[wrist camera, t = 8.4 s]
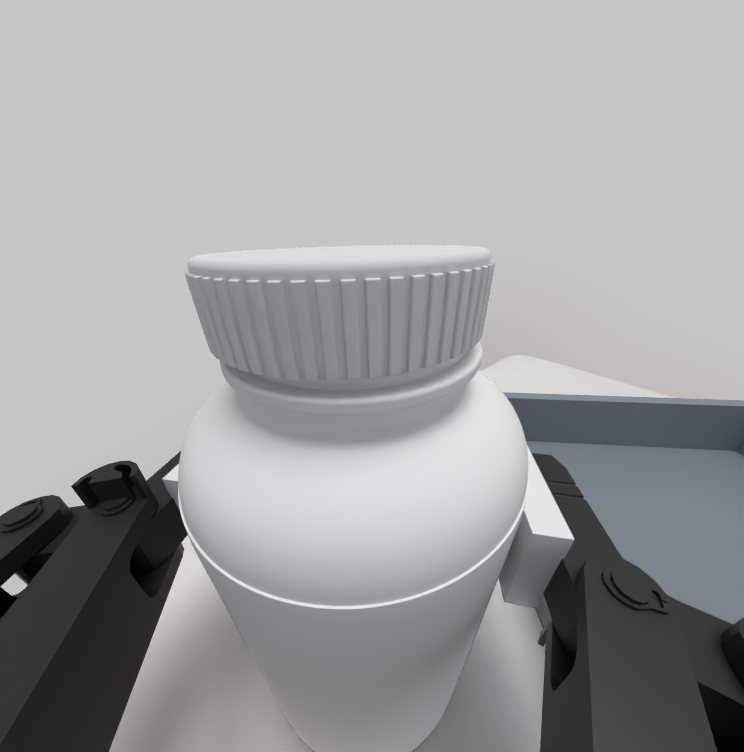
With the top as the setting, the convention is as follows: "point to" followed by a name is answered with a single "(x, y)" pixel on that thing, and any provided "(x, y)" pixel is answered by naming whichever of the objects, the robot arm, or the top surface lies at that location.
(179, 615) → the top surface
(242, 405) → the pill bottle
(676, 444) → the tray
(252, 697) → the top surface
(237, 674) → the top surface
